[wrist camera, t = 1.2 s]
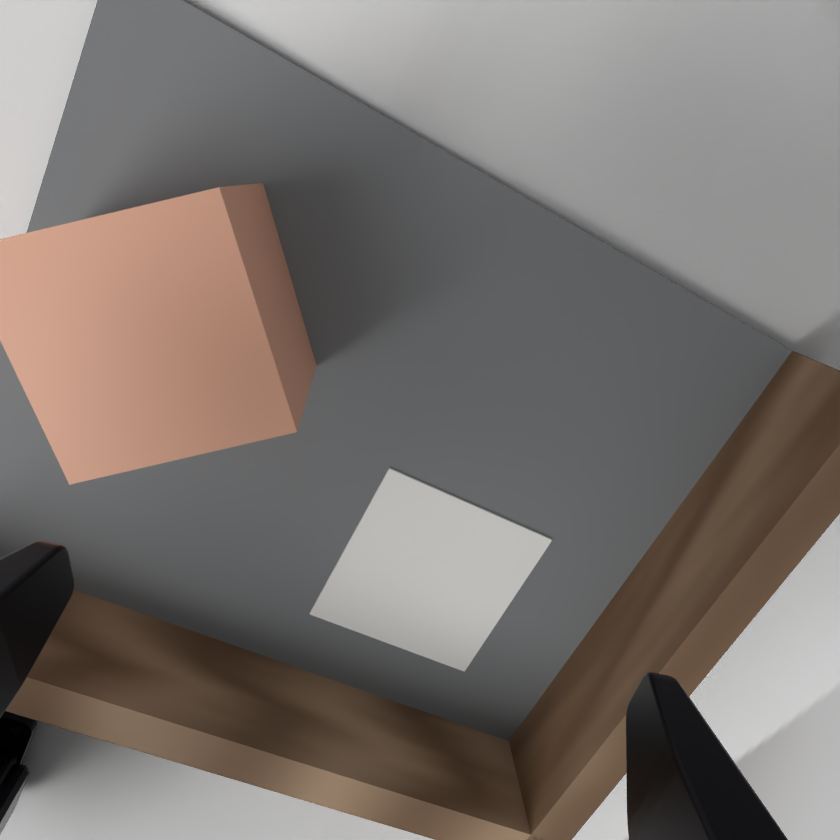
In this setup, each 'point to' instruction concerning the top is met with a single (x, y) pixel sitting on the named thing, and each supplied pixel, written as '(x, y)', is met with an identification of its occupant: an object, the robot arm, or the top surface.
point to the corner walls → (443, 739)
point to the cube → (156, 331)
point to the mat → (382, 391)
